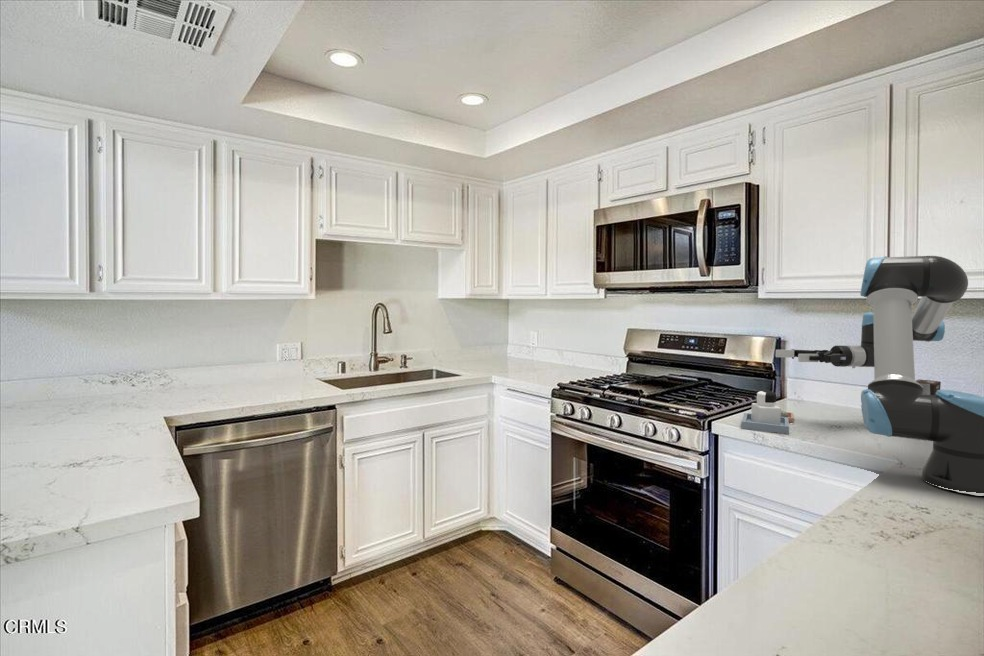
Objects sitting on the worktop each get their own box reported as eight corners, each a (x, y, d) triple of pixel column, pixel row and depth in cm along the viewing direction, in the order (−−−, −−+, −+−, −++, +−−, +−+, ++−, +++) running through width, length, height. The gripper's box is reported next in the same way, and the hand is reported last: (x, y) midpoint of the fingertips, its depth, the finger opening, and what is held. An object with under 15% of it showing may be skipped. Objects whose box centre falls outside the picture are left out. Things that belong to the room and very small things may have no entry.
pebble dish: (793, 423, 184) (793, 418, 184) (762, 420, 189) (762, 415, 189) (792, 417, 193) (793, 412, 193) (763, 414, 198) (763, 409, 198)
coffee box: (932, 429, 177) (935, 384, 176) (909, 425, 182) (911, 381, 181) (938, 424, 183) (941, 381, 181) (915, 421, 188) (918, 378, 186)
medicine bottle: (770, 422, 184) (772, 390, 183) (780, 427, 177) (782, 394, 176) (750, 422, 185) (751, 389, 184) (759, 427, 177) (760, 393, 176)
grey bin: (788, 434, 171) (789, 426, 171) (741, 428, 178) (741, 421, 178) (788, 424, 184) (788, 417, 183) (743, 419, 191) (744, 412, 190)
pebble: (788, 420, 187) (788, 412, 186) (778, 419, 188) (779, 411, 188) (788, 418, 189) (788, 411, 189) (778, 417, 191) (779, 410, 191)
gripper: (872, 371, 167) (808, 371, 167) (822, 362, 192) (767, 361, 192) (873, 349, 167) (809, 348, 166) (823, 342, 192) (768, 342, 191)
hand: (786, 355), depth 179 cm, fingers open, 13 cm apart
